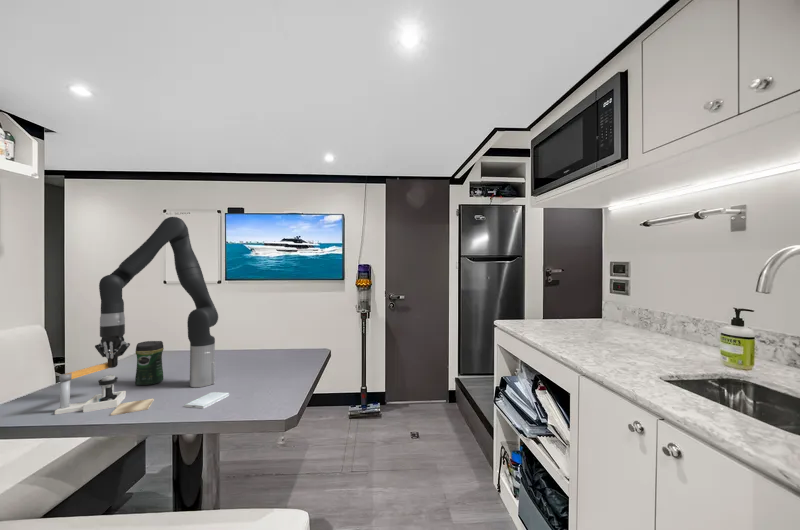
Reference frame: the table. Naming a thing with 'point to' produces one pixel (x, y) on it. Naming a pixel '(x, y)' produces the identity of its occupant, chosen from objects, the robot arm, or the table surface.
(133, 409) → the wood pad
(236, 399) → the table surface
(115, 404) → the socket housing
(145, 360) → the coffee jar
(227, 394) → the hard drive
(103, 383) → the push button
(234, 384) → the table surface
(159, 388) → the table surface
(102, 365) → the bar
